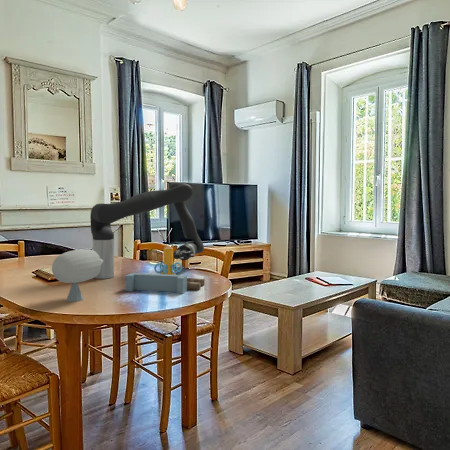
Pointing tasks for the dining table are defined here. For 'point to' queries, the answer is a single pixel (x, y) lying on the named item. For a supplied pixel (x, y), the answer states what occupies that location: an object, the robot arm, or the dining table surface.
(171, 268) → the yellow block with rings
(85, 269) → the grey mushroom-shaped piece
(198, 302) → the dining table surface
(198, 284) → the roller
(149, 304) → the dining table surface
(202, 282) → the roller
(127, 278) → the stop rail
